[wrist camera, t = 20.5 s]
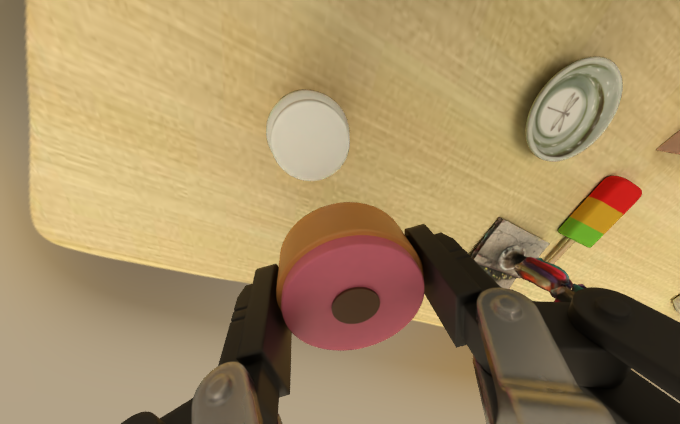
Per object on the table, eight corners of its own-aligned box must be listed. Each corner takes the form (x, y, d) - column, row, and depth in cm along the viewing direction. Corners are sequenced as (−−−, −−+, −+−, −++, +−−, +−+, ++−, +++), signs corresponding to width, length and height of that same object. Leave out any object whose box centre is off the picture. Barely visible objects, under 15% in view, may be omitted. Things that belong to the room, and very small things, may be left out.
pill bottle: (313, 164, 25) (322, 206, 16) (262, 129, 23) (241, 156, 14) (347, 116, 24) (378, 134, 15) (296, 73, 21) (296, 65, 13)
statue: (491, 214, 33) (637, 280, 19) (536, 237, 36) (689, 309, 22) (447, 280, 36) (548, 381, 22) (492, 296, 39) (606, 395, 25)
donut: (397, 185, 9) (429, 220, 7) (408, 285, 12) (435, 334, 9) (259, 222, 9) (247, 269, 7) (301, 314, 12) (302, 372, 9)
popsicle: (630, 186, 33) (648, 192, 32) (549, 270, 39) (560, 279, 37) (608, 171, 31) (625, 176, 30) (526, 261, 37) (537, 270, 35)
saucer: (532, 55, 24) (555, 52, 22) (614, 62, 25) (643, 60, 23) (498, 156, 28) (515, 162, 26) (570, 156, 30) (592, 162, 27)
